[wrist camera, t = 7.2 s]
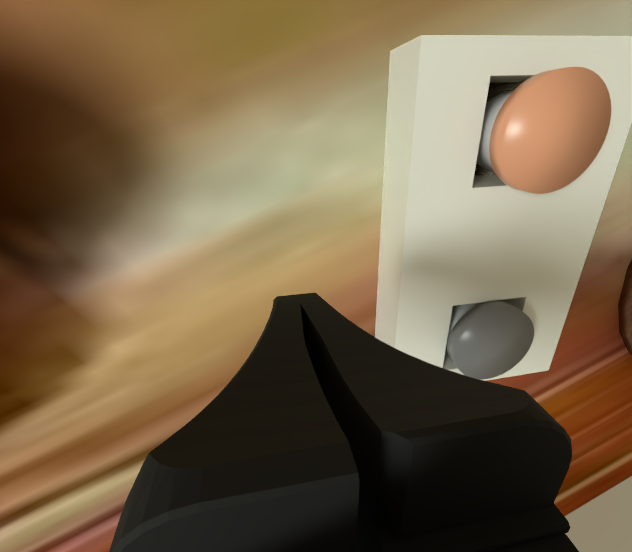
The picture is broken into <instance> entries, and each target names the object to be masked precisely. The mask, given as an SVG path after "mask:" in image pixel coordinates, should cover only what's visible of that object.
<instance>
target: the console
mask: <svg viewBox="0 0 632 552" xmlns="http://www.w3.org/2000/svg"><path fill="white" fill-rule="evenodd" d="M566 67H584V68H587V69H590V70H592V71H594V72H595V73H596V74H598V75H599V76H600V77H601V78H602V80H603V81H604V83H605V84H606V86H607V88H608V91H609V94H610V99H611V119H610V125H609V129H608V133H607V136H606V138H605V141H604V143H603V145H602V147H601V149H600V151H599V153H598V155H597V156H596V158H595V159H594V161H593V162H592V163H591V165H590V166H589V167H588V168H587V169H586V170H585V171H584V172H583V173H582V174H581V175H580V176H579V177H578V178H577V179H576V180H574V181H573V182H572V183H570V184H569V185H567V186H565V187H563V188H561V189H559V190H557V191H554V192H550V193H544V194H535V193H529V192H525V191H522V190H518V189H514V188H511V187H509V186H507V185H505V184H504V183H503V182H502V181H501V180H500V179H499V178H498V177H497V175H496V174H491V175H475V176H474V174H475V168H476V162H477V155H478V149H479V143H480V137H481V131H482V125H483V119H484V113H485V107H486V101H487V95H488V89H489V83H504V82H524V81H526V80H527V79H529V78H530V77H532V76H534V75H536V74H538V73H541V72H545V71H548V70H554V69H560V68H566ZM631 123H632V36H488V35H421V36H419V37H417V38H415V39H413V40H411V41H409V42H407V43H405V44H403V45H401V46H399V47H397V48H395V49H393V50H391V51H390V64H389V82H388V101H387V120H386V139H385V157H384V176H383V195H382V213H381V232H380V251H379V269H378V288H377V307H376V325H375V338H377V339H379V340H380V341H382V342H384V343H386V344H388V345H390V346H392V347H394V348H396V349H398V350H400V351H402V352H404V353H406V354H408V355H411V356H413V357H416V358H418V359H420V360H423V361H425V362H427V363H430V364H433V365H435V366H438V367H441V368H444V369H447V370H450V371H453V372H456V373H459V374H462V375H464V374H463V373H462V372H461V371H460V370H459V369H458V368H457V367H456V365H455V364H454V363H453V362H452V361H451V359H450V357H449V355H448V352H447V338H448V332H449V326H450V320H451V313H452V307H453V306H456V305H464V304H472V303H480V302H488V301H491V302H492V301H503V302H507V303H510V304H512V305H513V306H515V307H516V308H518V309H519V310H521V311H522V312H523V313H525V314H526V315H527V316H528V317H529V318H530V319H531V321H532V323H533V326H534V338H533V342H532V344H531V347H530V349H529V350H528V352H527V354H526V355H525V356H524V358H523V359H522V360H521V361H520V362H519V363H518V364H517V365H516V366H514V367H513V368H512V369H510V370H509V371H507V372H505V373H504V374H502V375H499V376H497V377H494V378H490V379H483V381H486V380H492V379H498V378H504V377H510V376H517V375H523V374H529V373H535V372H541V371H547V370H549V367H550V364H551V361H552V358H553V355H554V352H555V349H556V346H557V343H558V340H559V338H560V335H561V332H562V329H563V326H564V323H565V320H566V317H567V314H568V311H569V308H570V305H571V302H572V299H573V296H574V293H575V290H576V287H577V284H578V281H579V278H580V275H581V272H582V269H583V266H584V263H585V260H586V257H587V254H588V251H589V248H590V245H591V242H592V239H593V236H594V233H595V230H596V227H597V224H598V221H599V218H600V215H601V212H602V209H603V206H604V203H605V200H606V197H607V194H608V191H609V188H610V186H611V183H612V180H613V177H614V174H615V171H616V168H617V165H618V162H619V159H620V156H621V153H622V150H623V147H624V144H625V141H626V138H627V135H628V132H629V129H630V126H631ZM479 380H482V379H479Z"/></svg>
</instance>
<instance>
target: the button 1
mask: <svg viewBox="0 0 632 552" xmlns="http://www.w3.org/2000/svg"><path fill="white" fill-rule="evenodd" d="M533 338H534V326H533V323H532V321H531V319H530V318H529V317H528V316H527V315H526V314H525V313H523V312H522V311H521V310H519V309H518V308H516V307H515V306H513V305H512V304H510V303H507V302H503V301H492V302H491V301H488V302H480V303H472V304H464V305H456V306H453V307H452V313H451V320H450V326H449V332H448V338H447V352H448V355H449V357H450V359H451V361H452V362H453V363H454V364H455V365H456V367H457V368H458V369H459V370H460V371H461V372H462V373H463V374H464V375H465V376H469V377H472V378H475V379H482V380H483V379H490V378H494V377H497V376H499V375H502V374H504V373H505V372H507V371H509V370H510V369H512V368H513V367H514V366H516V365H517V364H518V363H519V362H520V361H521V360H522V359H523V358H524V356H525V355H526V354H527V352H528V350H529V349H530V347H531V344H532V342H533Z"/></svg>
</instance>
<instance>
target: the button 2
mask: <svg viewBox="0 0 632 552" xmlns="http://www.w3.org/2000/svg"><path fill="white" fill-rule="evenodd" d="M610 119H611V99H610V94H609V91H608V88H607V86H606V84H605V83H604V81H603V80H602V78H601V77H600V76H599V75H598V74H596V73H595V72H594V71H592V70H590V69H587V68H584V67H566V68H560V69H554V70H548V71H545V72H541V73H538V74H536V75H534V76H532V77H530V78H529V79H527V80H526V81H524V82H523V83H522V84H520V85H519V86H518V87H517V88H516V89H515V90H509V91H505V92H502V93H499V94H497V95H496V96H494V97H492V98H491V99H490V100H489V101H488V102H487V103H486V107H485V113H484V119H483V125H482V131H481V137H480V143H479V149H478V155H477V163H478V165H480V166H481V167H482V168H484V169H487V170H490V171H494V172H495V174H496V175H497V177H498V178H499V179H500V180H501V181H502V182H503V183H504V184H505V185H507V186H509V187H511V188H514V189H518V190H522V191H525V192H529V193H535V194H544V193H550V192H554V191H557V190H559V189H561V188H563V187H565V186H567V185H569V184H570V183H572V182H573V181H574V180H576V179H577V178H578V177H579V176H580V175H581V174H582V173H583V172H584V171H585V170H586V169H587V168H588V167H589V166H590V165H591V163H592V162H593V161H594V159H595V158H596V156H597V155H598V153H599V151H600V149H601V147H602V145H603V143H604V141H605V138H606V136H607V133H608V129H609V125H610Z"/></svg>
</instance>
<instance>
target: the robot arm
mask: <svg viewBox="0 0 632 552" xmlns="http://www.w3.org/2000/svg"><path fill="white" fill-rule="evenodd" d="M273 302H274V303H273V308H272V312H271V314H270V317H269V320H268V322H267V324H266V327H265V329H264V331H263V333H262V335H261V337H260V339H259V340H258V342H257V344H256V346H255V348H254V349H253V351H252V353H251V354H250V356H249V357H248V359H247V360H246V362H245V363H244V364H243V366H242V367H241V369H240V370H239V371H238V372H237V374H236V375H235V376H234V377H233V378H232V380H231V381H230V382H229V383H228V385H227V386H226V387H225V388H224V389H223V390H222V391H221V392H220V393H219V395H218V396H217V397H216V398H215V399H214V400H213V401H211V402H210V403H209V404H208V405H207V406H206V407H205V408H204V409H203V410H202V411H201V412H200V413H199V414H198V415H197V416H196V417H194V418H193V419H192V420H191V421H190V422H189V423H187V424H186V425H185V426H184V427H182V428H181V429H180V430H178V431H177V432H176V433H175V434H173V435H172V436H171V437H169V438H168V439H167V440H166V441H164V442H163V443H162V444H160V445H159V446H158V447H156V448H155V449H154V450H152V451H151V452H150V453H149V454H148V455H147V457H146V459H145V461H144V463H143V465H142V467H141V469H140V472H139V474H138V476H137V478H136V480H135V482H134V485H133V487H132V489H131V491H130V493H129V495H128V498H127V500H126V502H125V505H124V508H123V511H122V513H121V516H120V519H119V523H118V526H117V529H116V532H115V535H114V538H113V542H112V545H111V548H110V551H109V552H579V551H578V550H577V549H576V547H575V546H574V545H573V543H572V542H571V541H570V539H569V538H568V537H567V535H566V534H565V533H567V532H568V531H569V529H570V526H569V523H568V521H567V519H566V518H565V517H564V516H563V514H562V513H561V512H560V511H559V509H558V508H557V507H556V506H555V504H554V501H555V498H556V496H557V494H558V492H559V489H560V487H561V485H562V482H563V480H564V478H565V476H566V473H567V471H568V469H569V465H570V461H571V458H572V446H571V439H570V437H569V436H568V434H567V432H566V431H565V429H564V428H563V427H562V426H561V425H560V424H559V423H558V422H557V421H556V420H555V419H554V418H553V417H552V416H550V415H549V414H548V413H547V412H546V411H545V410H544V409H543V408H542V407H541V406H540V405H539V404H538V403H537V402H536V401H535V400H534V399H533V398H532V397H531V396H530V395H529V394H528V393H527V392H525V391H524V390H520V389H516V388H512V387H508V386H504V385H499V384H495V383H491V382H487V381H483V380H479V379H475V378H472V377H469V376H465V375H462V374H459V373H456V372H453V371H450V370H447V369H444V368H441V367H438V366H435V365H433V364H430V363H427V362H425V361H423V360H420V359H418V358H416V357H413V356H411V355H408V354H406V353H404V352H402V351H400V350H398V349H396V348H394V347H392V346H390V345H388V344H386V343H384V342H382V341H380V340H379V339H377V338H375V337H373V336H372V335H370V334H369V333H367V332H366V331H364V330H362V329H361V328H359V327H358V326H356V325H355V324H354V323H352V322H351V321H349V320H348V319H347V318H345V317H344V316H343V315H341V314H340V313H339V312H338V311H336V310H335V309H334V308H333V307H332V306H330V305H329V304H328V303H327V302H326V301H324V300H323V299H322V298H321V297H320V296H319V295H317V294H316V293H307V294H298V295H288V296H278V297H276V298H275V299H274V300H273Z"/></svg>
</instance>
